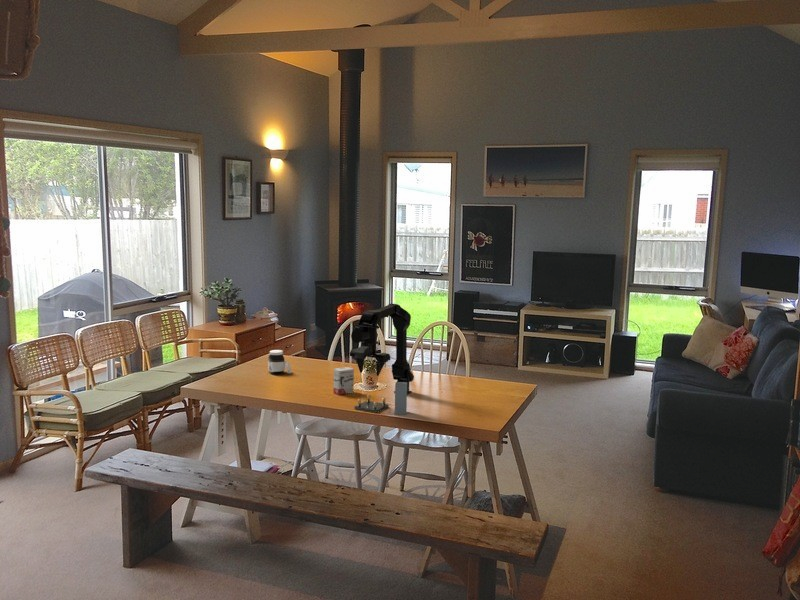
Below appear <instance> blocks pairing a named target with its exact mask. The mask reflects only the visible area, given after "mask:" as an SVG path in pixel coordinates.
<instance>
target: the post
mask: <svg viewBox="0 0 800 600" xmlns="http://www.w3.org/2000/svg"><path fill="white" fill-rule="evenodd" d="M394 386H395V387H394V391H395V393H394V415H400V416H401V415H402V416H404V415H405V416H407V410H408V409H407V408H408V407H407V405H408V404H407V403H408V401H407V400H408V394H407V382H397V381H395V385H394Z"/></svg>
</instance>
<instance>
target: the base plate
mask: <svg viewBox="0 0 800 600" xmlns="http://www.w3.org/2000/svg"><path fill="white" fill-rule="evenodd" d="M370 397H371V395H370V394H367V395H366V400H365V401H364V402H362V403H361V400H362V399H360V398H358V399H357V405H354V410H357V411H362V410H363V411H364V412H367V411H370V412H369V413H373V412H376V413H375V414H377V412H378V411H379V412H381V411H383V410H385V409H387V408H389V404H388V403H386V397H382V402H377V401H372V400H371V398H370ZM382 409H383V410H382ZM380 410H381V411H380ZM379 412H378V413H379Z"/></svg>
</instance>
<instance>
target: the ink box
mask: <svg viewBox="0 0 800 600" xmlns="http://www.w3.org/2000/svg"><path fill="white" fill-rule="evenodd" d="M354 377H355V369H354V368H352V367H349V366H345V367H336V368H334V369H333V393H334V394H336V395H338V396H341V394H342V395H348V394H354V383H355V382H354V380H355V378H354ZM347 393H348V394H347Z"/></svg>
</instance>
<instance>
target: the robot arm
mask: <svg viewBox="0 0 800 600" xmlns="http://www.w3.org/2000/svg"><path fill="white" fill-rule="evenodd" d="M388 317H390V318H391V319H392V325H393V327H394V329H395V332H396V333H395V334H396V336H395V337H396V338H395V340H396V342H395V361H394V362H393V363H392V364H391V374H392V379H393V380H395V381H396V382H407V395H408V394H411V393H412V392H413V391H412V390H410V383H412V382H413V381H414V379H415V375H414V374H413V372H412V371H411V366H410V363H409V361H408V359H407V355H408V354H407V346H408V345H407V342H408V340H407V336H408V335H407V332H408V329H409V327H410V325H411V319H412V316H411V314H410V312H408V310H406V309H405V308H403V307H401V305H400V304H398V303H388V304H387V305H385V306H382V307H380V308H378V309H372V310H370V309H369V310H364V311H363V312H362V313H361V316H360V318H359V320H358V323H357V325H356V326H355V327H354V328H355V329H353V330H352V331H351V334H350V337H351V340H352V341H353V342H354V343H355V344H359V343H361V345H360V346H359V347H358V348H353V349H351V350H350V351H349V357H351V358H352V359H353V360H354V361H355V362H356V364H357V367H358V370H359V372H360V373H363V372H364V371H363V370H364V363H365V359H366V358H367V357H368V358H373V359H375V360H376V361H374V362H375V364H376V376H377V377H379V376H380V373H382V370H383V367H384V366H385V364H386V363H387V362H388V361H391V355H390V353H387V352H381V353H379V350H377V345H378V344H379V341H378V340H377V339H378V338H377V333H378V329H380V326H379V324H380V323H381V322H382V320H383V319H384V318H388ZM393 393H394V394H395V390H394V391H393Z"/></svg>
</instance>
